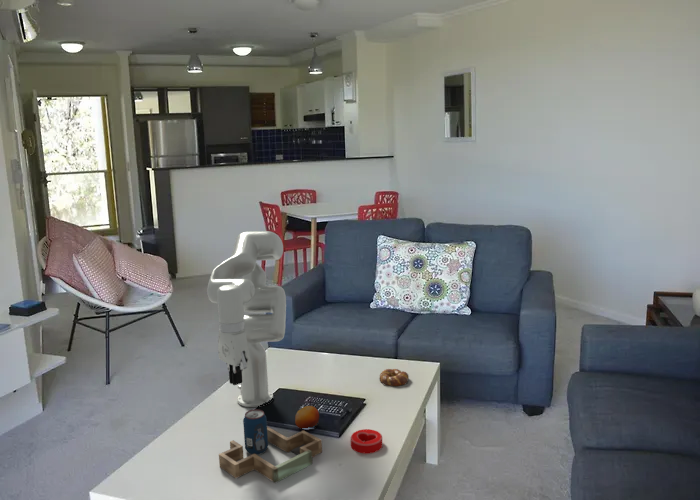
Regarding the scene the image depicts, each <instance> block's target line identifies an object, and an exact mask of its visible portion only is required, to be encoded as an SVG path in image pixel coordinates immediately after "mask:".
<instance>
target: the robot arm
mask: <svg viewBox="0 0 700 500" xmlns="http://www.w3.org/2000/svg"><path fill="white" fill-rule="evenodd" d="M283 254H284V243H283V241H282V239H281V238H280V236H279V235H278V234H276V233H275V232H273V231H268V230H263V231H262V230H258V231H253V230H252V231H244V232H241V233H239V234H238V236H236V238H235V241H234V245H233V249H232V251H231V255H230V257H229V258H226V259H225V260H224V261H223V262H220V264H218V265H217V266H216V267H214V269H213V270H212V271H211V274H210V276H209V280H208V283H207V288H206V294H207V299H208V300H209V301H210V302H211V303H213V304H217V311H218V324H219V325H218V328H219V330H218V337H217V339H218V340H217V342H218V344H217V349H218V350H217V351H218V354H217V355H218V358H219V360H221V361H222V362H224V363H226V366H227V370H228V376H229V377H228V379H229V384H230V385H233V386H237V389H239V390H240V394H239V395H238V396H237V403H238V404H239V406H241V407H246V408H257V407H258V406H259V407H261V406H260V405H262V404H263V403H265V402H268V401H269V400H271V399H272V398H273V399H274V394H273V393H272V392H271V391H269V381H268V380H269V379H268V377H269V376H268V363H267V352H266V349H265V347H264V346H263V345H262V343H263V342H264V343H265V342H267V343H268V342H269V343H270V342H280V341H282V340H283V339H284V337H285V334H286V315H287V311H286V310H287V296H286V292H285V289H284V288H283V287H282V286H281V285H267V273H266V271H265V270H264V268H262V266H261V265H260V264H258V262H257V261H277V260H280V259H281V258H282V256H283ZM241 277H242V278H241ZM245 313H251V314H245ZM259 313H260V314H259ZM261 313H262V314H261ZM264 313H267V314H264ZM269 313H270V314H269Z"/></svg>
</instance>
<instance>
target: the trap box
mask: <svg viewBox="0 0 700 500" xmlns="http://www.w3.org/2000/svg"><path fill="white" fill-rule="evenodd" d="M267 434H268V443H270V444H272V445H274V446H275V447H276V448H279V449H280V450H282V451H284V452H286V453H288V454H289V453H290V452H291V453H292V454H294V455H295V456H294V457H292V458H290V459H287V460H285V461H284V462H281V463H280V464H277V465H273V464H272V463H270V462H269V461H267V460H265V459H264V458H262V457H261V456H259V455H256V454H252V455H251V454H249V456H246V457H244V446H243V444H242V445H241V444H240V443H239V442H237V441H235V440H231V441H229V448H230V449H228V450H226V451H223V452H221V453H219V454H218V460H219V461H218V462H219V468H221V469H222V470H223V471H225V472H227V474H229V475H230V476H232V477H234V478H235V479H238V478H239V477H242V476H244V475H246V474H247V473H249V472H253V471H254V470H255V471H256V472H257V473H259V474H261V475H262V476H264V477H265V478H267V479H268V480H270V481H271V482H273V483H275V484H276V483H278V482H280V481H281V480H283V479H285V478H287V477H289V476H292V475H294V474H295V473H297V472H299V471H301V470H303V469H305V468H306V467H309V466H311V465H312V464H313V457H315V456H317V455H318V454H322V452H323V442H322V439H321V438H319V437H317V436H315V435H314V434H311V433H309V432H308V431H305V430H301V431H299V432H297V433H295V434H292V435H290V436H289V437H287V436H285V435H283V434H281V433H280V432H278V431H276V430H274V429H273V428H271V427H270V426H267Z"/></svg>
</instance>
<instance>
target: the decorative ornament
mask: <svg viewBox="0 0 700 500" xmlns="http://www.w3.org/2000/svg"><path fill="white" fill-rule="evenodd" d="M350 448H351V449H352V451H355V452H356V453H358V454H359V453H360V454H365V455H366V454H373V453H377V452H380V450H382V448H383V435H382V434H381V433H380V432H379V431H377V430H374V429H367V428H366V429H364V428H363V429H358V430H356V431H354V432H353V433H352V434H351V436H350Z"/></svg>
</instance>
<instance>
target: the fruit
mask: <svg viewBox="0 0 700 500" xmlns="http://www.w3.org/2000/svg"><path fill="white" fill-rule="evenodd" d="M294 419H295V421H294V423H295V425H296V427H297V428H298V429H300V428H301V429H302V428H308V427H313V426H315V425H316V426H318V424H319V420H320V413H319V410H318V409H317V408H316V407H315V406H313V405H305V406H303V407H301V408H300V409H298V410H297V412H296V413H295V417H294ZM317 423H318V424H317ZM301 429H300V430H301Z"/></svg>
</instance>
